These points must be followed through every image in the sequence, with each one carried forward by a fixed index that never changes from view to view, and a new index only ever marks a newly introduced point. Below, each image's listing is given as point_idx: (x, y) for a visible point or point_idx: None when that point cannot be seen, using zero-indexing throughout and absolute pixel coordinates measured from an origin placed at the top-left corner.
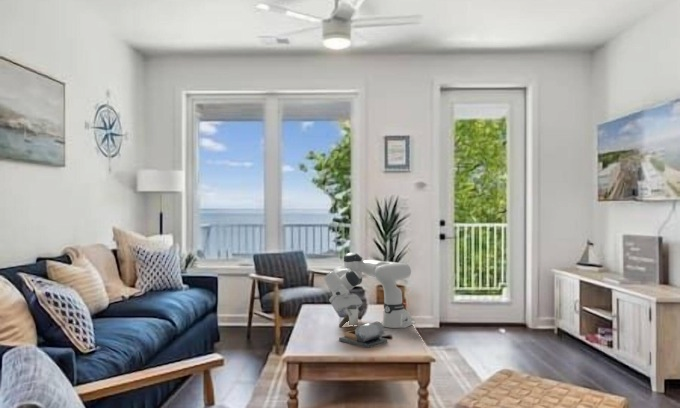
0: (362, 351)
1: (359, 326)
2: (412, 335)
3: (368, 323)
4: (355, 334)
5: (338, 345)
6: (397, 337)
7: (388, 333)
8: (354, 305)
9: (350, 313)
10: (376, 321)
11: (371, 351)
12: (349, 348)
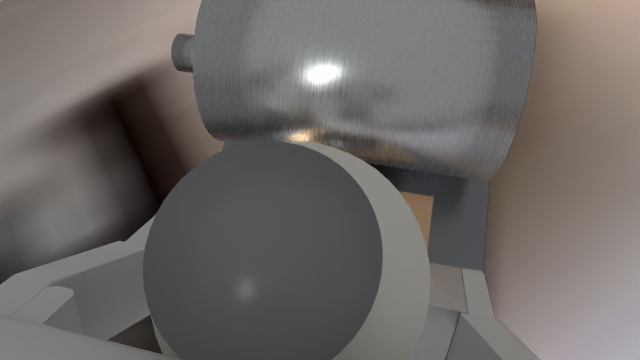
0: (600, 53)
1: (528, 66)
2: (14, 2)
3: (356, 30)
4: (487, 178)
5: (599, 330)
6: (102, 52)
7: (2, 164)
8: (291, 188)
9: (460, 276)
10: (208, 10)
11: (551, 6)
12: (606, 181)
